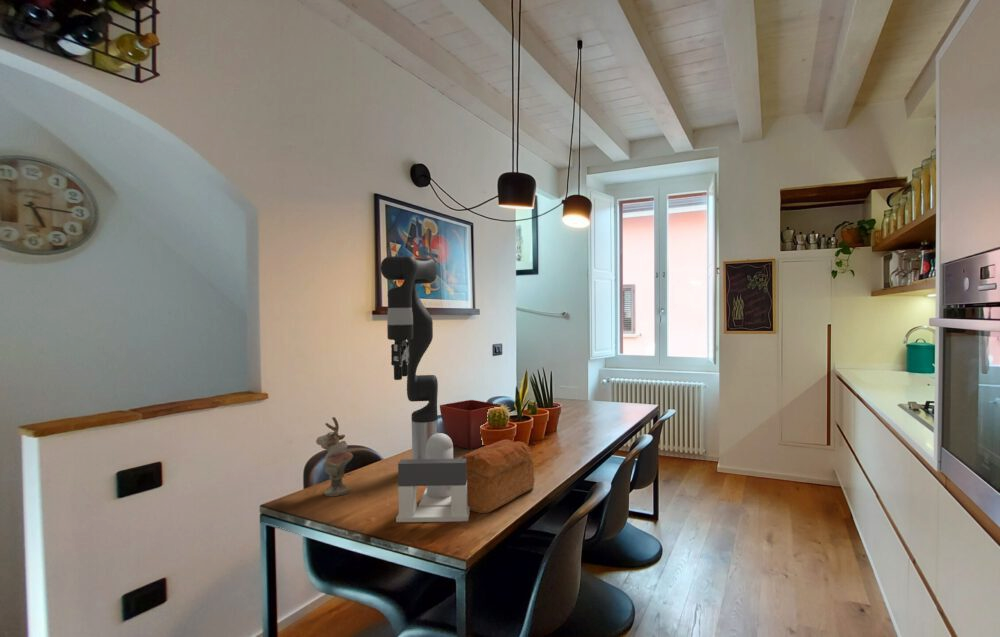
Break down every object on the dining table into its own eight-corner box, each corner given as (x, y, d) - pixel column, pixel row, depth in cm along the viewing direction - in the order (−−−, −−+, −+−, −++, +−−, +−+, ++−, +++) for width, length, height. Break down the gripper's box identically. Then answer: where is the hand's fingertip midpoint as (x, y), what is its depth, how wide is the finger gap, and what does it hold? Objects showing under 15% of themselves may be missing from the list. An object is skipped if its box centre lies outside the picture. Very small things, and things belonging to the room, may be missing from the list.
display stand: (411, 491, 153) (410, 430, 153) (473, 491, 153) (472, 429, 153) (396, 522, 131) (395, 449, 130) (468, 521, 130) (466, 448, 130)
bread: (449, 505, 142) (448, 453, 142) (502, 479, 164) (501, 434, 164) (488, 516, 134) (487, 460, 134) (538, 487, 156) (538, 439, 156)
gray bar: (466, 480, 136) (466, 458, 136) (465, 485, 132) (465, 462, 132) (401, 481, 136) (401, 459, 136) (398, 486, 132) (398, 463, 132)
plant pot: (502, 443, 209) (502, 404, 209) (469, 453, 196) (469, 410, 196) (471, 436, 223) (471, 399, 223) (438, 445, 209) (438, 405, 209)
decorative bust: (312, 482, 159) (320, 407, 157) (352, 486, 161) (361, 411, 159) (302, 498, 148) (310, 417, 146) (345, 501, 150) (354, 421, 148)
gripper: (408, 323, 140) (409, 381, 140) (416, 322, 154) (417, 375, 154) (381, 324, 140) (382, 381, 140) (392, 323, 154) (393, 375, 154)
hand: (401, 378), depth 147 cm, fingers open, 8 cm apart
